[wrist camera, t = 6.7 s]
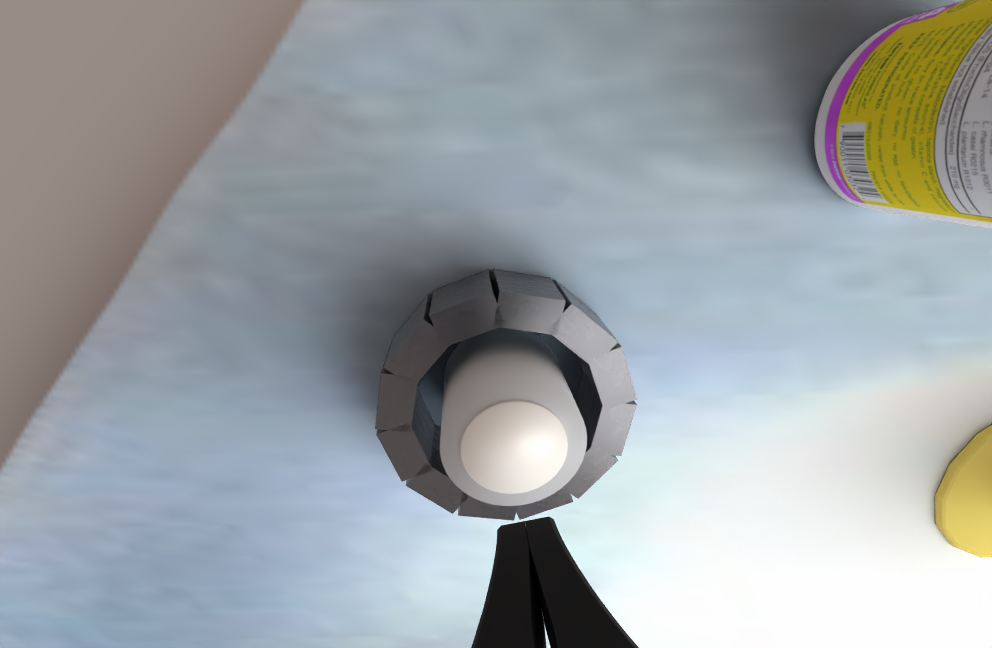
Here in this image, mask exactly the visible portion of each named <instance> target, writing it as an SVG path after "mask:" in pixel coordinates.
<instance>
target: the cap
mask: <svg viewBox="0 0 992 648" xmlns="http://www.w3.org/2000/svg"><path fill="white" fill-rule="evenodd" d="M586 446H587V433H586V427H585V424H584V420H583V418H582V416H581V414H580V411H579V409H578V407H577V405H576V402H575V400H574V398H573V396H572V393H571V391H570V389H569V387H568V384H567V382H566V380H565V377H564V375H563V373H562V371H561V368H560V366H559V364H558V362H557V359H556V357H555V355H554V353H553V351H552V350H551V348H550V347H549V345H548V344H547V343H546V342H545V341H544V340H543V339H542V338H540V337H539V336H538V335H536V334H535V333H533V332H530V331H523V330H516V329H508V328H501V327H499V328H496V329H493V330H490V331H488V332H485V333H482V334H480V335H477V336H474V337H471V338H469V339H466V340H463V341H462V342H460V344H459V345H458V346H457V347H456V348H455V349H454V351H453V352H452V354H451V356H450V358H449V359H448V362H447V365H446V369H445V375H444V390H443V405H442V420H441V435H440V456H441V460H442V464H443V466H444V469H445V471H446V473H447V474H448V476H449V478H450V479H451V480H452V481H453V483H454V484H455V485H456V486H457V487H458V488H459V489H460V490H462V491H463V492H464V493H466V494H467V495H469V496H471V497H473V498H475V499H477V500H479V501H482V502H485V503H489V504H493V505H500V506H517V505H525V504H530V503H533V502H536V501H539V500H542V499H544V498H546V497H548V496H550V495H552V494H554V493H555V492H557V491H558V490H560V489H561V488H562V487H563V486H565V485H566V484H567V483H568V482H569V481H570V480H571V479H572V477H573V476H574V475H575V474H576V472H577V471H578V469H579V467H580V465H581V463H582V461H583V458H584V455H585V452H586Z"/></svg>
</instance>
